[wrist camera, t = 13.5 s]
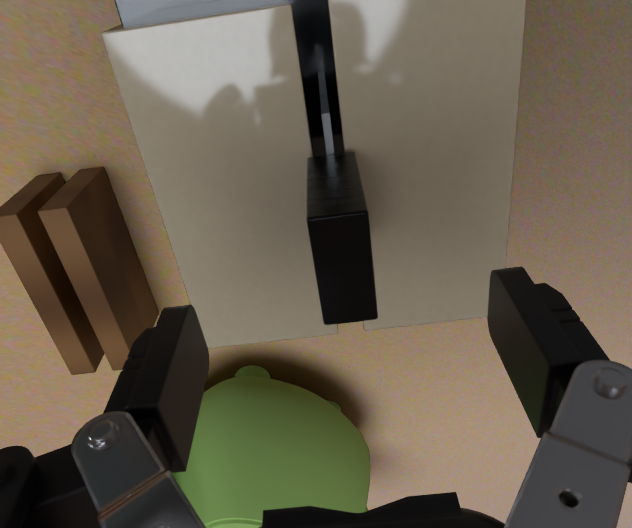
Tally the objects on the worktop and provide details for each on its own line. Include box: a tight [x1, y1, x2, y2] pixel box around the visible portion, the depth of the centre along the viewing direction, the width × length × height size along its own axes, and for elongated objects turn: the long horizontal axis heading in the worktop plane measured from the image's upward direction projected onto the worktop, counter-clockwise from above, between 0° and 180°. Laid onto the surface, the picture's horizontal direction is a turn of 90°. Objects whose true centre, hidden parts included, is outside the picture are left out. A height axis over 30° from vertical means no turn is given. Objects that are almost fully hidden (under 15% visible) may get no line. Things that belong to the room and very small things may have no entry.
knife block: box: [0, 167, 159, 375], centre depth 28 cm, size 10×4×5 cm, turn 8°
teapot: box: [171, 365, 370, 528], centre depth 33 cm, size 20×13×13 cm
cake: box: [101, 0, 526, 348], centre depth 23 cm, size 17×17×8 cm
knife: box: [306, 71, 378, 325], centre depth 21 cm, size 7×2×12 cm, turn 8°
